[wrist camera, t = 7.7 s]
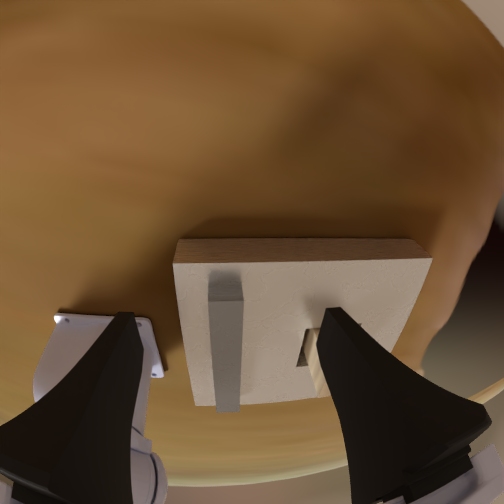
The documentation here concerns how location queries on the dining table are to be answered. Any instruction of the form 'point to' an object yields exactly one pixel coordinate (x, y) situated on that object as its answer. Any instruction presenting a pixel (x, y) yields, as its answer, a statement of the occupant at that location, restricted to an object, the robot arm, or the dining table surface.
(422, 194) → the dining table surface
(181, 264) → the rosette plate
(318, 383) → the peg
